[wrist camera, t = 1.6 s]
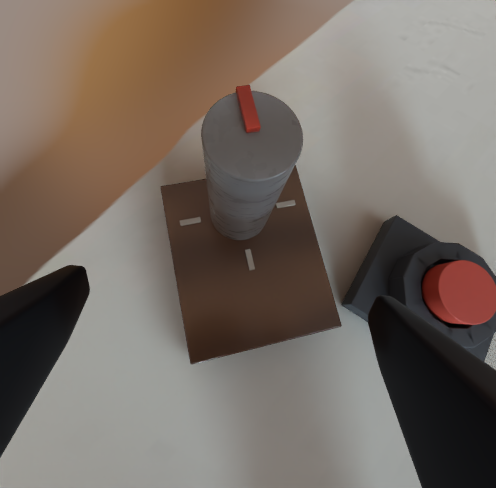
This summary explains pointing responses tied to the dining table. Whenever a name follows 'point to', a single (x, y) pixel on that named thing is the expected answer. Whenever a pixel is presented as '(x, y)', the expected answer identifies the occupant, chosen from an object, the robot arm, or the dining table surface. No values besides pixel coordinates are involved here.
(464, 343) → the button box
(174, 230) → the base
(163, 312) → the dining table surface
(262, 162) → the grey cylinder with pointer
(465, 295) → the button
